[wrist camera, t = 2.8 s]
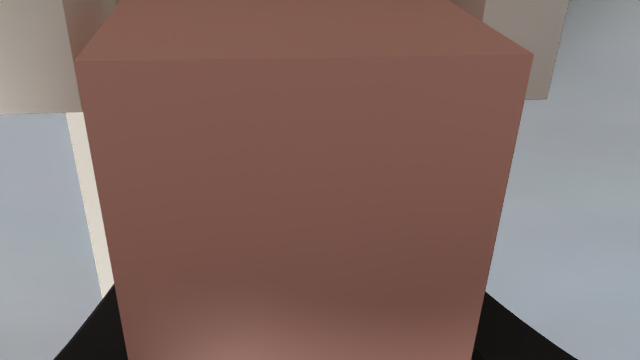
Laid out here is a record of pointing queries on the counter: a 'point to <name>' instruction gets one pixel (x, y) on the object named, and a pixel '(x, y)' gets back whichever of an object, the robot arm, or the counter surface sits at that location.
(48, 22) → the dispenser sleeve
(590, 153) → the counter surface
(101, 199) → the pink block
